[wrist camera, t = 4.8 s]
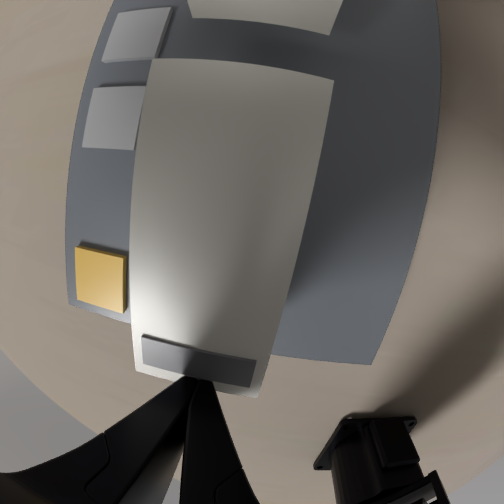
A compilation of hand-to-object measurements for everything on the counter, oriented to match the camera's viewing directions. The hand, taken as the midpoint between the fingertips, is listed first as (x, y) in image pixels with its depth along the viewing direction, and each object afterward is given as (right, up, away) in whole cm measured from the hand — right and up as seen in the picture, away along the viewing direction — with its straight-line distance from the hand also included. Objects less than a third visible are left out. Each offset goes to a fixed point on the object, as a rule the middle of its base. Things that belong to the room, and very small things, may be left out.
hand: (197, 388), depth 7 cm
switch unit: (+2, +10, +4) cm, 11 cm away
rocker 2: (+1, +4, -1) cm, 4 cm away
